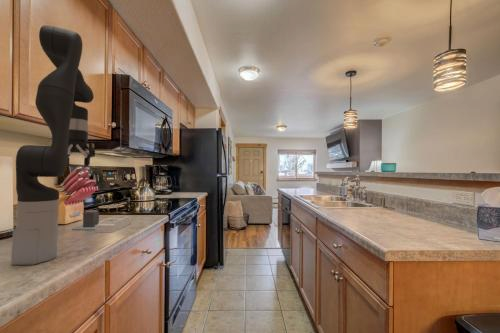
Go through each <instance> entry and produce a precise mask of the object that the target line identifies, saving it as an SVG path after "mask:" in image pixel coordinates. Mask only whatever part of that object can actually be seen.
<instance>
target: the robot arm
mask: <svg viewBox="0 0 500 333" xmlns="http://www.w3.org/2000/svg"><path fill="white" fill-rule="evenodd" d="M38 39H39V43H40V47H41V49H42V51H43V52H44V54H45V55H46V57H47V58H48V59H49V60H50V62H51V63H52V64H53V65H54V67H55V69H54V70H53V71H51V72H50V73H49V74H47V75H46V76H45V77H43V78H42V79H41V81H40V82H39V83H38V84H37V85H38V86H37V90H36V95H35V96H36V97H35V100H34V102H35V107H36V109H37V111H38V113H39V115H40V116H41V117H42V119H43V120H44V122H45V124H46V125H47V127H48V130H49V131H50V134H51V145H38V144H37V145H33V144H32V145H31V144H25V145H22V146H21V147H19V148H18V150H17V153H16V155H15V190H16V195H17V196H16V197H17V203H16V205H17V207H16V220H15V221H16V222H15V223H16V224H15V228H14V229H13V230H12V240H11V242H12V243H11V261H10V262H11V266H13V265H15V266H18V265H19V266H22V265H23V266H24V265H26V266H27V265H30V266H31V265H34V266H35V265H36V264H40V263H45V262H47V261H50V260H53V259H55V258H56V257H57V255H58V235H59V233H58V232H59V231H58V230H59V228H58V227H59V207H60V191H59V190H58V189H57V188H53V187H50V186H47V185H46V184H43V183H41V182H40V181H39V179H38V177H39V178H58V177H62V176H63V175H64V174H65V172H66V169H67V167H69V166H70V156H71V155H73V154H74V153H76V154H77V153H79V154H82V155H83V156H84V159H83V160H84V162H83V166H84V167H89V166H90V165H91V158H93V157H94V158H95V156H96V146H95V145H96V144H95V143H91V142H89V143H88V140H89V136H88V135H89V120H88V119H89V118H88V117H89V111H88V109H87V108H86V107H83V106H80V105H77V104H76V103H86V104H89V103H91V102H93V101H94V100H93V99H94V98H95V96H94V91H93V90H92V88H91V87H90V86H89V85H88V83H87V82H86V81H85V78H84V75H83V73H82V71H81V70H80V67H79V66H80V63H81V59H82V55H83V54H82V53H83V39H82V37H81V35H80V34H79V33H78V32H76V31H74V30H70V29H66V28H63V27H58V26H54V25H42V26H41V27H40V28H39V32H38ZM87 148H88V150H87Z"/></svg>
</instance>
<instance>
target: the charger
mask: <svg viewBox="0 0 500 333" xmlns="http://www.w3.org/2000/svg"><path fill="white" fill-rule="evenodd" d="M99 219H100V211H99V210H96V209H95V210H94V209H93V210H85V211H84V212H83V217H82V225H83V227H95V225H97V224H98V222H100V220H99Z"/></svg>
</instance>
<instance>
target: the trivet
mask: <svg viewBox="0 0 500 333" xmlns="http://www.w3.org/2000/svg"><path fill="white" fill-rule="evenodd" d="M72 231H95V227H83V224H82V225H79V226H76V227H73V228H72Z"/></svg>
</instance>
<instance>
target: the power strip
mask: <svg viewBox="0 0 500 333" xmlns="http://www.w3.org/2000/svg"><path fill="white" fill-rule="evenodd" d="M131 224H132V217H130V216H129V215H114V216H111V217H109V218H106V219H103V220H99V222H98V224H97V225H95V230H94V233H115V232H117V231H119V230H120V229H123V228H124V227H127V226H129V225H131Z"/></svg>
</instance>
